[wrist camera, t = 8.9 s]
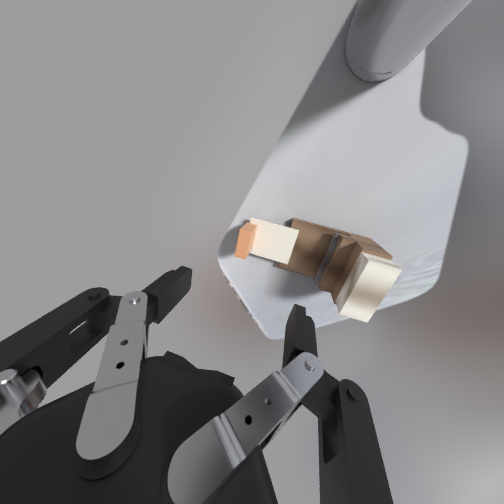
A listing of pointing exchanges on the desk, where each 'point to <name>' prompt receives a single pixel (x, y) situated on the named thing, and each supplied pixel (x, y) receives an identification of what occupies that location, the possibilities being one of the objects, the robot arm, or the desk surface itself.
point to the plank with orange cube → (266, 240)
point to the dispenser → (343, 267)
